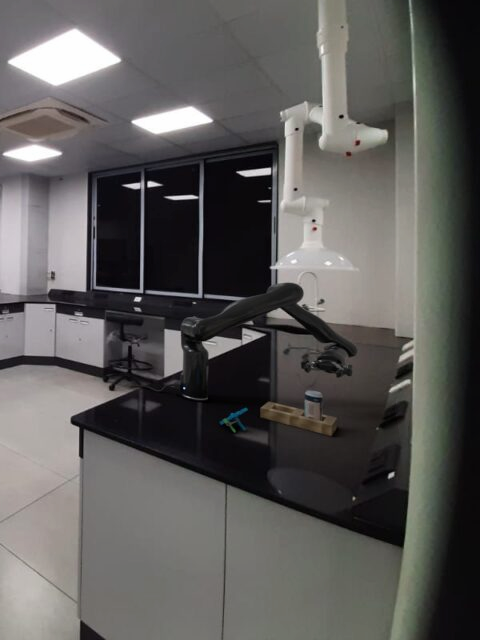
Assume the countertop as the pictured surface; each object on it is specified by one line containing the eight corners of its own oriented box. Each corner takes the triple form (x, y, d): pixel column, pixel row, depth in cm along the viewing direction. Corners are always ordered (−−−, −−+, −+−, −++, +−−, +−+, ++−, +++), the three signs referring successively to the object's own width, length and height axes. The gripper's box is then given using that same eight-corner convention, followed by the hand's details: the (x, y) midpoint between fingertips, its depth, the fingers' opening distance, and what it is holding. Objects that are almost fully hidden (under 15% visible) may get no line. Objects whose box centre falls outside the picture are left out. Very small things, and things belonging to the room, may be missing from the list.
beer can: (325, 430, 137) (326, 395, 137) (309, 428, 138) (310, 393, 138) (316, 424, 142) (317, 390, 142) (300, 422, 142) (301, 389, 143)
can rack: (260, 417, 147) (260, 407, 147) (268, 410, 154) (268, 401, 154) (331, 436, 132) (331, 425, 132) (336, 427, 139) (337, 417, 139)
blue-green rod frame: (229, 415, 143) (250, 402, 136) (242, 431, 140) (264, 419, 133) (210, 424, 138) (230, 412, 131) (223, 441, 135) (245, 429, 128)
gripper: (308, 348, 162) (296, 358, 152) (356, 354, 151) (348, 366, 141) (309, 366, 162) (297, 378, 152) (357, 374, 151) (349, 387, 141)
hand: (322, 372), depth 146 cm, fingers open, 8 cm apart
